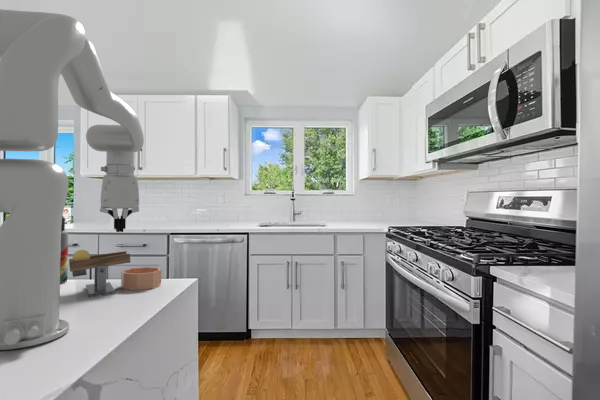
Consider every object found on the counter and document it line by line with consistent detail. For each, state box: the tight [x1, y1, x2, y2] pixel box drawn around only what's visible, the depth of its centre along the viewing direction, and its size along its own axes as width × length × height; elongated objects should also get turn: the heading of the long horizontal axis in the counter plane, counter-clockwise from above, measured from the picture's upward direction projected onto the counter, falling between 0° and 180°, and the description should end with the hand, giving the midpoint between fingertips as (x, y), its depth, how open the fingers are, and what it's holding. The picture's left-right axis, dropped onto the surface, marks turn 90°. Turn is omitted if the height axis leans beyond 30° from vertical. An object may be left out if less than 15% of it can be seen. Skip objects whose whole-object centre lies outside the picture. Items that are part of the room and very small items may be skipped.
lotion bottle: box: [60, 215, 69, 285], centre depth 104 cm, size 6×6×20 cm
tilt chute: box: [68, 250, 131, 278], centre depth 99 cm, size 15×14×4 cm
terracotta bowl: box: [120, 266, 162, 291], centre depth 102 cm, size 10×10×4 cm
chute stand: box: [85, 265, 116, 298], centre depth 96 cm, size 12×6×8 cm, turn 35°
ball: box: [72, 249, 91, 261], centre depth 93 cm, size 4×4×4 cm
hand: (119, 231), depth 107 cm, fingers closed
